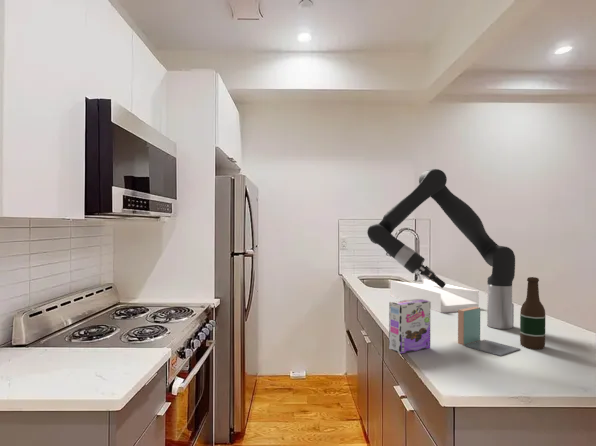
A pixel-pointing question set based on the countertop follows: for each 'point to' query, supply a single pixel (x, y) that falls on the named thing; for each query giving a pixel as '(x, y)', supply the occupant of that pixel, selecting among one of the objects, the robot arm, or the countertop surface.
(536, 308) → the beer bottle
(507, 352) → the slate mat
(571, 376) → the countertop surface
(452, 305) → the building model
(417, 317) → the candy box
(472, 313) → the tile
